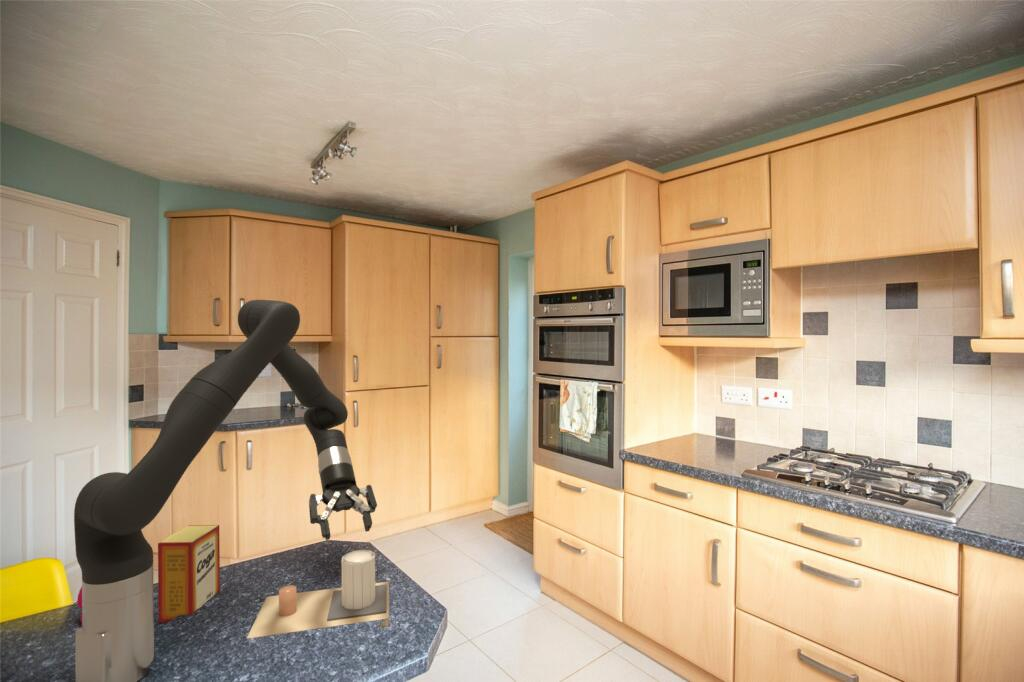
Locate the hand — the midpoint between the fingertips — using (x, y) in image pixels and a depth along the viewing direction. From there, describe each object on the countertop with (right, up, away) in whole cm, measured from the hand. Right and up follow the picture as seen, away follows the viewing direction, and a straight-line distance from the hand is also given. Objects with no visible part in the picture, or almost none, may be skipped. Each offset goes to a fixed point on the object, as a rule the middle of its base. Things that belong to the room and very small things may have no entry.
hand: (348, 533), depth 107 cm
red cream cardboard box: (-31, -13, -6) cm, 34 cm away
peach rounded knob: (-9, -12, -10) cm, 18 cm away
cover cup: (+4, -11, -7) cm, 14 cm away
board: (-2, -13, -8) cm, 16 cm away
